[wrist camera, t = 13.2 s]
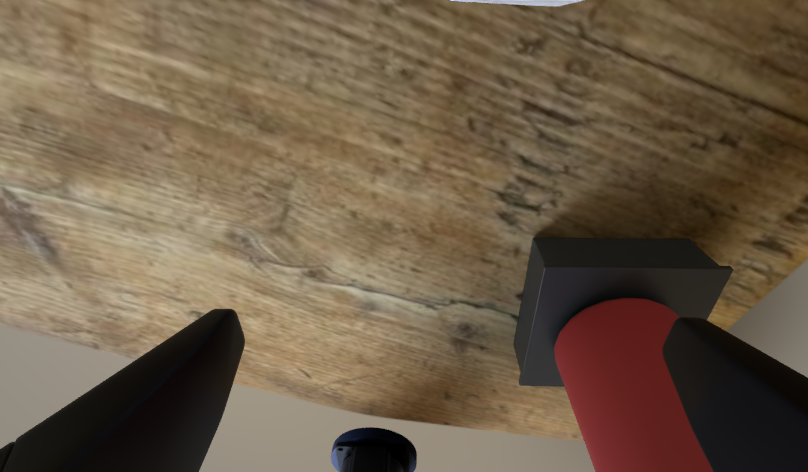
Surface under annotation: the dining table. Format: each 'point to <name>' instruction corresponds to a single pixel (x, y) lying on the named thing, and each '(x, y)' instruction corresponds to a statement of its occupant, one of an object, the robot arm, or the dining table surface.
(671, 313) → the beer can
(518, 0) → the cup
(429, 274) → the dining table surface
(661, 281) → the block
